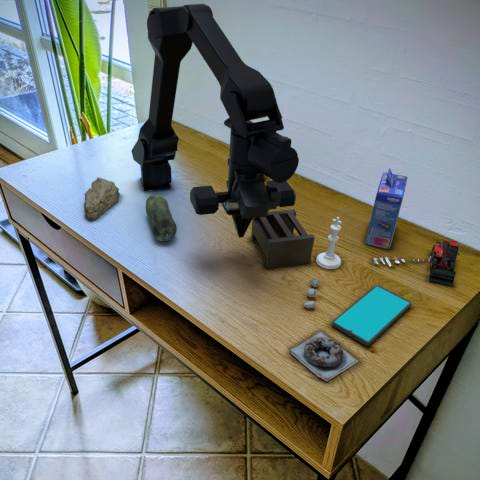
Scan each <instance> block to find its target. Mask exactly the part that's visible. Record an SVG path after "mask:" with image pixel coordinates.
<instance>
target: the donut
mask: <svg viewBox="0 0 480 480" xmlns="http://www.w3.org/2000/svg"><path fill="white" fill-rule="evenodd" d="M341 343H342V342H340V341H337V340H333V339H332V338H330V337H328V336H327V335H326V334H325V333H324V332H322V331H319V332H317V333H316V334H314V335H313V336H311V337H309V338H308V339H306V340H305V341H302V342H301V343H299V344H297V345H296V346H294V347H293V348H290V350H289V351H290V354H291V355H292V356H293V357H294V358H295V359H297V361H299V362H300V363H301V364H302V365H303V366H304V367H306V368H307V369H308V370H310V371H311V372H312V373H313V374H314V375H315V376H316V377H318V378H319V379H321V380H324V381H326V382H329V381H331V380H332V379H333V378H335V377H336V376H338V375H340V374H341V373H343V372H345V371H346V370H348V369H349V368H351V367H353V366H354V365H355V364H358V363H359V361H360V360H357V358H355V357H354V356H352V355H351V354H350V353H349V352H348V351H346V350H345V349H344V348H343V347H342V346H341Z"/></svg>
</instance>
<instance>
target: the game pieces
mask: <svg viewBox="0 0 480 480" xmlns="http://www.w3.org/2000/svg"><path fill="white" fill-rule="evenodd" d="M309 284H310V285H311V286H312V288H308V289H307V292H306V293H307V297H309V298H315V297H317V296H318V289H315V288H317V287H318V286H319V280H318V278H317V277H316V276H315V277H312V279H309ZM303 307H304V308H305V309H316V303H315V301H314V300H308V301H306V302H304V304H303Z"/></svg>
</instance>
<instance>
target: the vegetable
mask: <svg viewBox="0 0 480 480" xmlns="http://www.w3.org/2000/svg"><path fill="white" fill-rule="evenodd" d="M145 213H146V215H147V217H148V220H149V223H150V226H151V230H152V233H153V236H154V237H155V239H156V240H157V241H160V242H167V241H170V240H172V239H173V238H175V236H176V234H177V232H178V226H177V224H176V222H175V220H174V218H173V215H172V212H171V210H170V206H169V203H168V200H167V199H166V198H165V197H164V196H162V195H159V194H153V195H150V196H149V197H148V198H147V199H146V201H145Z"/></svg>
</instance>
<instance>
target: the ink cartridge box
mask: <svg viewBox="0 0 480 480" xmlns="http://www.w3.org/2000/svg"><path fill="white" fill-rule="evenodd" d="M407 183H408V176H407V175H400V174H395V173H393V172H392V169H391V168H390V167H389V168H388V171H387V172H382V175H381V178H380V180H379V183H378V187H377V191H376V193H375V194H376V195H375V199H374V203H373V207H372V211H371V216H370V220H369V225H368V229H367V235H366V239H365V244H366V245H370V246H373V247H378V248H381V249H385V250H389V249H391V246H392V242H393V238H394V235H395V231H396V227H397V223H398V220H399V215H400V212H401V208H402V204H403V201H404V196H405V192H406V187H407Z"/></svg>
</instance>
